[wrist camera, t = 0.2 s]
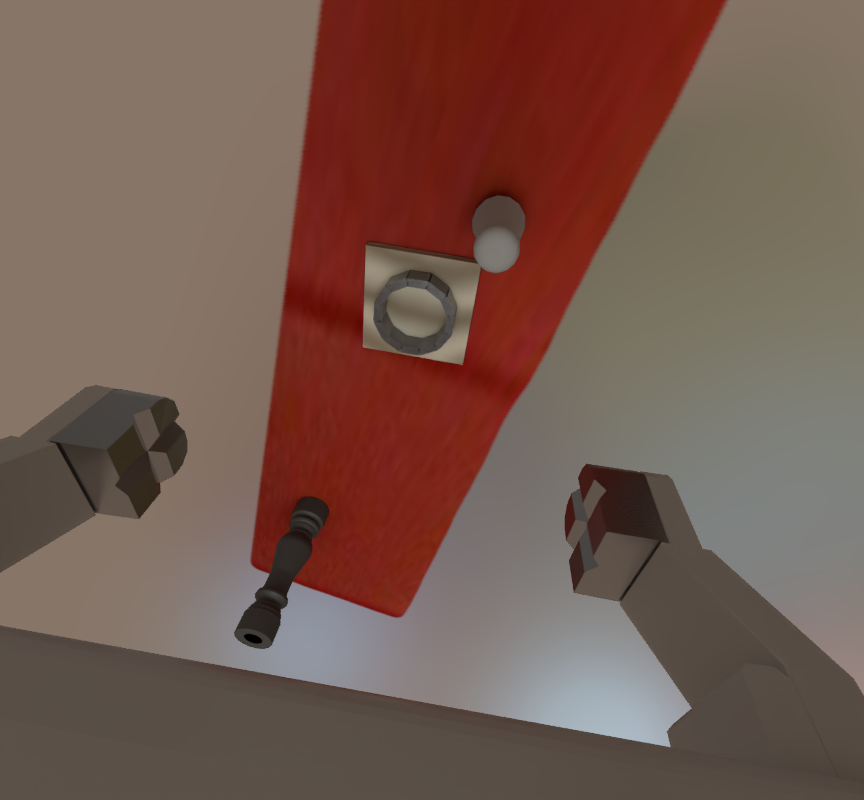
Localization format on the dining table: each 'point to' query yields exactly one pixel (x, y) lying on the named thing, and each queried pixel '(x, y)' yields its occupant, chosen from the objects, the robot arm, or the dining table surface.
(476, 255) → the salt shaker
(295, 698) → the robot arm
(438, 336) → the metal collar
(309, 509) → the candle holder
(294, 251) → the dining table surface
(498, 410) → the dining table surface
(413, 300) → the birch stand
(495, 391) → the dining table surface
